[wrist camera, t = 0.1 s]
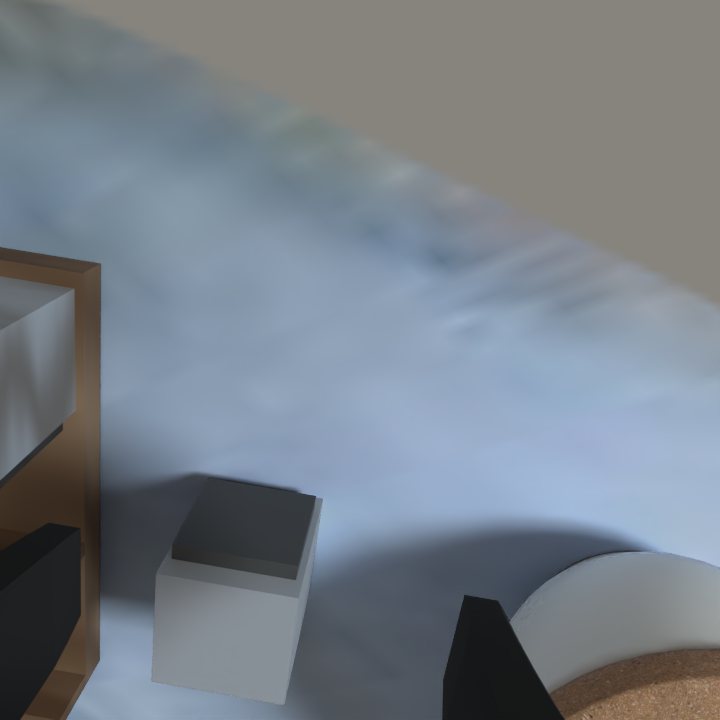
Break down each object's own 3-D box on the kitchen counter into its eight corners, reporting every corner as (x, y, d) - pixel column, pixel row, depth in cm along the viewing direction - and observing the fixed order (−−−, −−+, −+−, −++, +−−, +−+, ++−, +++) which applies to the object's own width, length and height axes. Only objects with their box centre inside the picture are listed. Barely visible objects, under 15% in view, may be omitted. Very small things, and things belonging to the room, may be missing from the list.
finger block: (309, 591, 25) (283, 705, 20) (201, 572, 25) (151, 681, 20) (324, 485, 23) (301, 583, 19) (209, 466, 23) (156, 558, 19)
